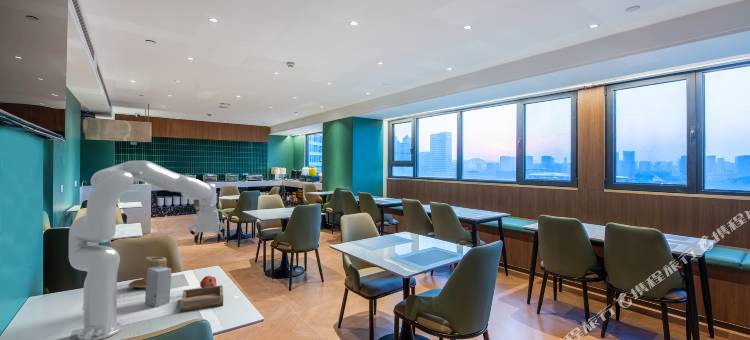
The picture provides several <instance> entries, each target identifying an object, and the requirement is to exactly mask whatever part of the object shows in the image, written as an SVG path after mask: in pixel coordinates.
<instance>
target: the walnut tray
mask: <svg viewBox="0 0 750 340" xmlns="http://www.w3.org/2000/svg"><path fill="white" fill-rule="evenodd" d="M179 303H180V305H179V306H180V313H184V312H190V311H196V310H198V311H199V310H203V309H209V308H217V307H223V306H224V287H223V285H216V286H213V287H205V288H201V287H198V288H192V289H190V288H189V289H183V292H182V296H181V299H180V302H179Z"/></svg>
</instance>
